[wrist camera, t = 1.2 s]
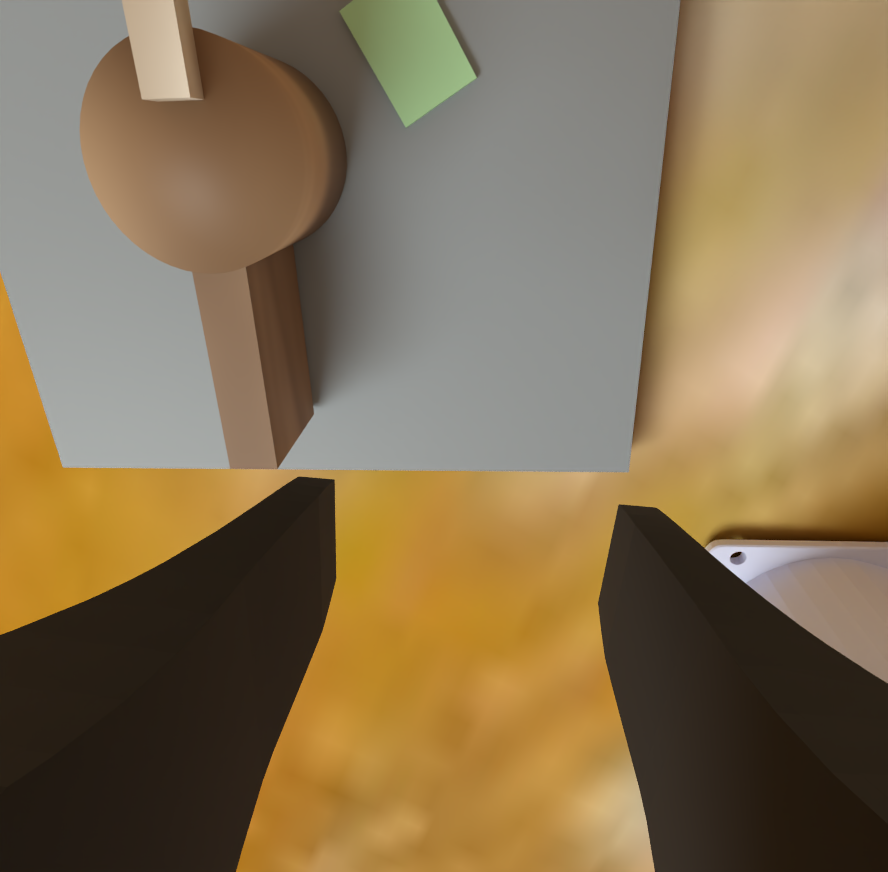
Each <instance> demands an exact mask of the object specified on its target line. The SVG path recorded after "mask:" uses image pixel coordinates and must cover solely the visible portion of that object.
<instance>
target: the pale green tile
mask: <svg viewBox="0 0 888 872" xmlns="http://www.w3.org/2000/svg"><path fill="white" fill-rule="evenodd" d="M339 12H340V13H341V15H342V17H343V19H344V20H345V22H346V24H347V26H348V27H349V29H350V31H351V33H352V34H353V36H354V38H355V40H356V41H357V43H358V45H359V47H360V48H361V50H362V52H363V54H364V55H365V57H366V59H367V61H368V62H369V64H370V66H371V68H372V69H373V71H374V73H375V75H376V76H377V78H378V80H379V82H380V83H381V85H382V87H383V89H384V90H385V92H386V94H387V96H388V97H389V99H390V101H391V103H392V104H393V106H394V108H395V110H396V111H397V113H398V115H399V117H400V118H401V120H402V122H403V124H404V125H405V127H406V128H407V127H409V126H410V125H411V124H413V123H414V122H416V121H417V120H418V119H420V118H421V117H423V116H424V115H426V114H427V113H428V112H430V111H431V110H433V109H434V108H436V107H437V106H438V105H440V104H441V103H443V102H444V101H446V100H447V99H448V98H450V97H451V96H453V95H454V94H455V93H457V92H458V91H460V90H461V89H463V88H464V87H465V86H467V85H468V84H470V83H471V82H473V81H474V80H475V79H477V77H476V75H475V73H474V71H473V69H472V67H471V65H470V64H469V62H468V60H467V58H466V56H465V54H464V52H463V50H462V48H461V46H460V44H459V42H458V40H457V38H456V36H455V35H454V33H453V31H452V29H451V27H450V25H449V23H448V21H447V19H446V17H445V15H444V13H443V11H442V9H441V7H440V6H439V4H438V2H437V0H353V1H352V2H350V3H349V4H348V5H346V6H345V7H344V8H343V9H341V10H340V11H339Z"/></svg>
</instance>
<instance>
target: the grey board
mask: <svg viewBox="0 0 888 872" xmlns="http://www.w3.org/2000/svg"><path fill="white" fill-rule="evenodd" d="M352 1H353V0H188V5H189V11H190V17H191V23H192V27H193V28H199V29H202V30H205V31H207V32H210V33H213V34H216V35H218V36H221V37H223V38H226V39H228V40H231V41H233V42H235V43H238V44H240V45H243V46H245V47H248V48H250V49H253V50H255V51H258V52H260V53H262V54H265V55H267V56H270V57H272V58H275V59H277V60H280V61H282V62H284V63H286V64H288V65H290V66H292V67H294V68H295V69H297V70H298V71H300V72H301V73H303V74H304V75H305V76H306V77H307V78H309V79H310V80H311V81H312V82H313V83H314V84H315V85H316V86H317V87H318V88H319V90H320V91H321V92H322V93H323V94H324V96H325V97H326V99H327V100H328V102H329V103H330V105H331V107H332V108H333V110H334V112H335V114H336V116H337V119H338V121H339V124H340V126H341V129H342V133H343V137H344V140H345V147H346V155H347V169H346V179H345V183H344V188H343V191H342V194H341V197H340V200H339V202H338V204H337V206H336V208H335V210H334V211H333V213H332V214H331V216H330V217H329V219H328V220H327V221H326V222H325V223H324V224H323V225H322V226H321V227H320V228H319V229H318V230H316V231H315V232H314V233H313V234H311V235H309V236H308V237H306V238H304V239H302V240H300V241H298V242H296V243H294V244H293V247H294V255H295V263H296V271H297V280H298V288H299V296H300V304H301V312H302V320H303V328H304V336H305V344H306V352H307V360H308V368H309V376H310V384H311V392H312V400H313V408H314V415H313V417H312V418H311V420H310V421H309V423H308V424H307V426H306V427H305V429H304V430H303V432H302V433H301V435H300V436H299V438H298V439H297V441H296V442H295V444H294V445H293V447H292V448H291V450H290V451H289V453H288V454H287V456H286V457H285V459H284V460H283V462H282V463H281V465H280V466H279V468H278V469H313V470H429V471H545V472H629V464H630V455H631V446H632V437H633V428H634V419H635V410H636V401H637V392H638V382H639V373H640V364H641V355H642V346H643V337H644V328H645V319H646V310H647V301H648V291H649V282H650V273H651V264H652V255H653V246H654V237H655V228H656V219H657V209H658V200H659V191H660V182H661V173H662V164H663V155H664V146H665V137H666V127H667V118H668V109H669V100H670V91H671V82H672V73H673V64H674V55H675V46H676V36H677V27H678V18H679V9H680V0H437V2H438V4H439V6H440V7H441V9H442V11H443V13H444V15H445V17H446V19H447V21H448V23H449V25H450V27H451V29H452V31H453V33H454V35H455V36H456V38H457V40H458V42H459V44H460V46H461V48H462V50H463V52H464V54H465V56H466V58H467V60H468V62H469V64H470V65H471V67H472V69H473V71H474V73H475V75H476V77H477V79H475V80H474V81H473V82H471V83H470V84H468V85H467V86H465V87H464V88H463V89H461V90H460V91H458V92H457V93H455V94H454V95H453V96H451V97H450V98H448V99H447V100H446V101H444V102H443V103H441V104H440V105H438V106H437V107H436V108H434V109H433V110H431V111H430V112H428V113H427V114H426V115H424V116H423V117H421V118H420V119H418V120H417V121H416V122H414V123H413V124H411V125H410V126H409V127H407V128H406V127H405V125H404V124H403V122H402V120H401V118H400V117H399V115H398V113H397V111H396V110H395V108H394V106H393V104H392V103H391V101H390V99H389V97H388V96H387V94H386V92H385V90H384V89H383V87H382V85H381V83H380V82H379V80H378V78H377V76H376V75H375V73H374V71H373V69H372V68H371V66H370V64H369V62H368V61H367V59H366V57H365V55H364V54H363V52H362V50H361V48H360V47H359V45H358V43H357V41H356V40H355V38H354V36H353V34H352V33H351V31H350V29H349V27H348V26H347V24H346V22H345V20H344V19H343V17H342V15H341V13H340V12H339V11H340V10H341V9H343V8H344V7H345V6H346V5H348V4H349V3H350V2H352ZM128 36H129V33H128V29H127V24H126V19H125V14H124V9H123V4H122V0H0V272H1V275H2V278H3V281H4V285H5V288H6V291H7V294H8V297H9V300H10V303H11V306H12V310H13V313H14V316H15V319H16V322H17V325H18V328H19V331H20V335H21V338H22V341H23V344H24V347H25V350H26V353H27V356H28V360H29V363H30V366H31V369H32V372H33V375H34V378H35V381H36V385H37V388H38V391H39V394H40V397H41V400H42V403H43V406H44V410H45V413H46V416H47V419H48V422H49V425H50V428H51V431H52V435H53V438H54V441H55V444H56V447H57V450H58V453H59V456H60V460H61V463H62V466H63V467H81V468H197V469H230V465H229V460H228V455H227V450H226V445H225V440H224V434H223V429H222V424H221V419H220V414H219V409H218V403H217V398H216V393H215V388H214V383H213V378H212V372H211V367H210V362H209V357H208V352H207V347H206V341H205V336H204V331H203V326H202V321H201V316H200V310H199V305H198V300H197V295H196V290H195V285H194V279H193V274H192V272H190V271H185V270H182V269H179V268H176V267H173V266H170V265H168V264H166V263H164V262H161V261H159V260H157V259H156V258H154V257H152V256H151V255H149V254H147V253H146V252H145V251H143V250H142V249H141V248H139V247H138V246H137V245H135V244H134V243H133V242H132V241H131V240H130V239H129V238H128V237H127V236H126V235H124V234H123V233H122V231H121V230H120V229H119V228H118V227H117V226H116V224H115V223H114V222H113V221H112V220H111V218H110V217H109V215H108V214H107V212H106V211H105V210H104V208H103V207H102V205H101V203H100V201H99V199H98V197H97V196H96V194H95V192H94V189H93V187H92V185H91V182H90V180H89V178H88V174H87V171H86V168H85V164H84V161H83V155H82V150H81V143H80V113H81V107H82V101H83V97H84V94H85V90H86V87H87V84H88V82H89V80H90V78H91V76H92V74H93V71H94V70H95V68H96V67H97V65H98V64H99V62H100V61H101V59H102V58H103V57H104V56H105V55H106V54H107V53H108V52H109V51H110V49H111V48H112V47H113V46H115V45H116V44H118V43H119V42H120V41H122V40H123V39H124V38H126V37H128Z"/></svg>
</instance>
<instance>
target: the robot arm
mask: <svg viewBox="0 0 888 872" xmlns="http://www.w3.org/2000/svg"><path fill="white" fill-rule="evenodd" d="M735 552H742V553H741V554H740V555H739V556H738V557H734V558H731V555H732V554H733V553H735ZM335 581H336V539H335V480H332V479H321V478H309V477H297V478H296V479H294V480H292V481H291V482H289V483H288V484H286V485H285V486H283V487H282V488H280V489H279V490H277V491H276V492H274V493H273V494H271V495H270V496H268V497H267V498H265V499H264V500H263V501H261V502H260V503H258V504H257V505H255V506H254V507H252V508H251V509H249V510H248V511H246V512H245V513H243V514H242V515H240V516H239V517H237V518H236V519H234V520H233V521H231V522H230V523H228V524H227V525H225V526H224V527H222V528H221V529H219V530H218V531H216V532H214V533H213V534H211V535H209V536H208V537H206V538H204V539H203V540H201V541H199V542H198V543H196V544H194V545H193V546H191V547H189V548H187V549H186V550H184V551H182V552H181V553H179V554H177V555H176V556H174V557H172V558H171V559H169V560H167V561H166V562H164V563H162V564H160V565H158V566H156V567H155V568H153V569H151V570H149V571H147V572H145V573H143V574H141V575H139V576H137V577H135V578H133V579H131V580H129V581H127V582H125V583H123V584H121V585H119V586H117V587H115V588H113V589H111V590H108V591H106V592H104V593H102V594H100V595H98V596H96V597H93V598H91V599H89V600H87V601H84V602H82V603H79V604H77V605H75V606H72V607H70V608H67V609H65V610H62V611H60V612H57V613H55V614H52V615H50V616H47V617H45V618H43V619H40V620H38V621H35V622H33V623H30V624H28V625H25V626H23V627H20V628H18V629H15V630H13V631H10V632H7V633H5V634H2V635H0V872H236V869H237V865H238V862H239V858H240V855H241V851H242V848H243V845H244V841H245V838H246V835H247V831H248V828H249V825H250V821H251V818H252V815H253V811H254V808H255V805H256V801H257V798H258V795H259V791H260V788H261V785H262V781H263V778H264V776H265V773H266V770H267V767H268V765H269V762H270V759H271V756H272V754H273V751H274V748H275V746H276V744H277V741H278V739H279V736H280V734H281V731H282V729H283V726H284V724H285V722H286V719H287V717H288V714H289V712H290V709H291V707H292V705H293V702H294V700H295V697H296V695H297V692H298V690H299V688H300V685H301V683H302V680H303V678H304V675H305V673H306V670H307V668H308V665H309V663H310V661H311V658H312V656H313V653H314V651H315V648H316V646H317V643H318V641H319V638H320V636H321V633H322V630H323V627H324V623H325V620H326V616H327V612H328V609H329V605H330V601H331V597H332V593H333V589H334V585H335ZM598 606H599V614H600V623H601V632H602V639H603V646H604V654H605V659H606V663H607V667H608V671H609V675H610V679H611V683H612V687H613V691H614V695H615V698H616V702H617V706H618V710H619V714H620V717H621V721H622V725H623V729H624V732H625V736H626V740H627V743H628V747H629V751H630V755H631V758H632V762H633V766H634V770H635V773H636V777H637V781H638V785H639V788H640V793H641V797H642V802H643V806H644V811H645V815H646V820H647V825H648V831H649V838H650V844H651V850H652V856H653V862H654V868H655V872H888V542H857V541H796V540H734V539H720V540H715V541H713V542H710V543H709V544H708V545H707V546H706V548H704V547H702V546H701V545H700V544H699V543H698V542H697V541H696V540H694V539H693V538H692V537H691V536H690V535H689V534H688V533H686V532H685V531H684V530H683V529H682V528H681V527H679V526H678V525H677V524H676V523H675V522H674V521H672V520H671V519H670V518H669V517H668V516H666V515H665V514H664V513H663V512H661V511H660V510H659V509H657V508H654V507H642V506H631V505H619V506H618V510H617V515H616V520H615V525H614V530H613V534H612V539H611V544H610V549H609V554H608V558H607V563H606V568H605V573H604V578H603V582H602V587H601V592H600V597H599V602H598Z"/></svg>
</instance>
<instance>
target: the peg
mask: <svg viewBox="0 0 888 872" xmlns="http://www.w3.org/2000/svg"><path fill="white" fill-rule="evenodd" d="M122 4H123V9H124V14H125V19H126V24H127V29H128V33H129V36H128V37H126V38H124V39H123V40H122V41H120V42H119V43H118V44H116V45H115V46H113V47H112V48H111V49H110V51H109V52H108V53H107V54H106V55H105V56H104V57H103V58H102V59H101V61H100V62H99V64H98V65H97V67H96V68H95V70H94V71H93V74H92V76H91V78H90V80H89V82H88V84H87V87H86V90H85V94H84V97H83V101H82V107H81V113H80V143H81V150H82V155H83V161H84V164H85V168H86V171H87V174H88V178H89V180H90V182H91V185H92V187H93V189H94V192H95V194H96V196H97V197H98V199H99V201H100V203H101V205H102V207H103V208H104V210H105V211H106V212H107V214H108V215H109V217H110V218H111V220H112V221H113V222H114V223H115V224H116V226H117V227H118V228H119V229H120V230H121V231H122V233H123V234H124V235H126V236H127V237H128V238H129V239H130V240H131V241H132V242H133V243H134V244H135V245H137V246H138V247H139V248H141V249H142V250H143V251H145V252H146V253H147V254H149V255H151V256H152V257H154V258H156V259H157V260H159V261H161V262H164V263H166V264H168V265H170V266H173V267H176V268H179V269H182V270H185V271H190V272H192V274H193V279H194V285H195V290H196V295H197V300H198V305H199V310H200V316H201V321H202V326H203V331H204V336H205V341H206V347H207V352H208V357H209V362H210V367H211V372H212V378H213V383H214V388H215V393H216V398H217V403H218V409H219V414H220V419H221V424H222V429H223V434H224V440H225V445H226V450H227V455H228V460H229V465H230V469H278V468H279V466H280V465H281V463H282V462H283V460H284V459H285V457H286V456H287V454H288V453H289V451H290V450H291V448H292V447H293V445H294V444H295V442H296V441H297V439H298V438H299V436H300V435H301V433H302V432H303V430H304V429H305V427H306V426H307V424H308V423H309V421H310V420H311V418H312V417H313V415H314V408H313V400H312V392H311V384H310V376H309V368H308V360H307V352H306V344H305V336H304V328H303V320H302V312H301V304H300V296H299V288H298V280H297V271H296V263H295V255H294V247H293V244H294V243H296V242H298V241H300V240H302V239H304V238H306V237H308V236H309V235H311V234H313V233H314V232H315V231H316V230H318V229H319V228H320V227H321V226H322V225H323V224H324V223H325V222H326V221H327V220H328V219H329V217H330V216H331V214H332V213H333V211H334V210H335V208H336V206H337V204H338V202H339V200H340V197H341V194H342V191H343V188H344V183H345V179H346V169H347V155H346V147H345V140H344V137H343V133H342V129H341V126H340V124H339V121H338V119H337V116H336V114H335V112H334V110H333V108H332V107H331V105H330V103H329V102H328V100H327V99H326V97H325V96H324V94H323V93H322V92H321V91H320V90H319V88H318V87H317V86H316V85H315V84H314V83H313V82H312V81H311V80H310V79H309V78H307V77H306V76H305V75H304V74H303V73H301V72H300V71H298V70H297V69H295V68H294V67H292V66H290V65H288V64H286V63H284V62H282V61H280V60H277V59H275V58H272V57H270V56H267V55H265V54H262V53H260V52H258V51H255V50H253V49H250V48H248V47H245V46H243V45H240V44H238V43H235V42H233V41H231V40H228V39H226V38H223V37H221V36H218V35H216V34H213V33H210V32H207V31H205V30H202V29H199V28H193V27H192V23H191V17H190V11H189V5H188V0H122Z"/></svg>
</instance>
